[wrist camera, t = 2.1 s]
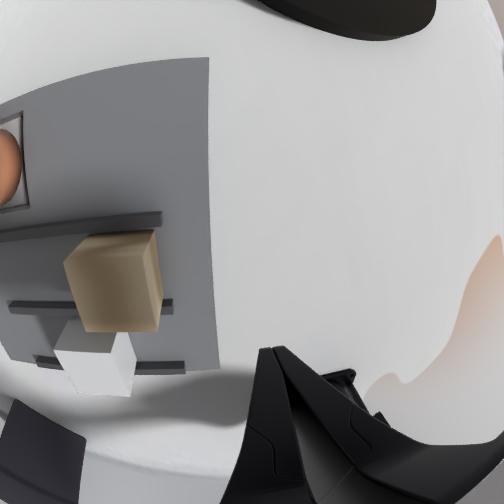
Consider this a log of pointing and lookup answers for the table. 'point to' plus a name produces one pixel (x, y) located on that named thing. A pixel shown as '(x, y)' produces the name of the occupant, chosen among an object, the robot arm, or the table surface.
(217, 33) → the table surface
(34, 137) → the grey railed board
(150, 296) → the beech slider
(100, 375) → the white cube
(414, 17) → the wireless charger
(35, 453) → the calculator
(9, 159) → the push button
